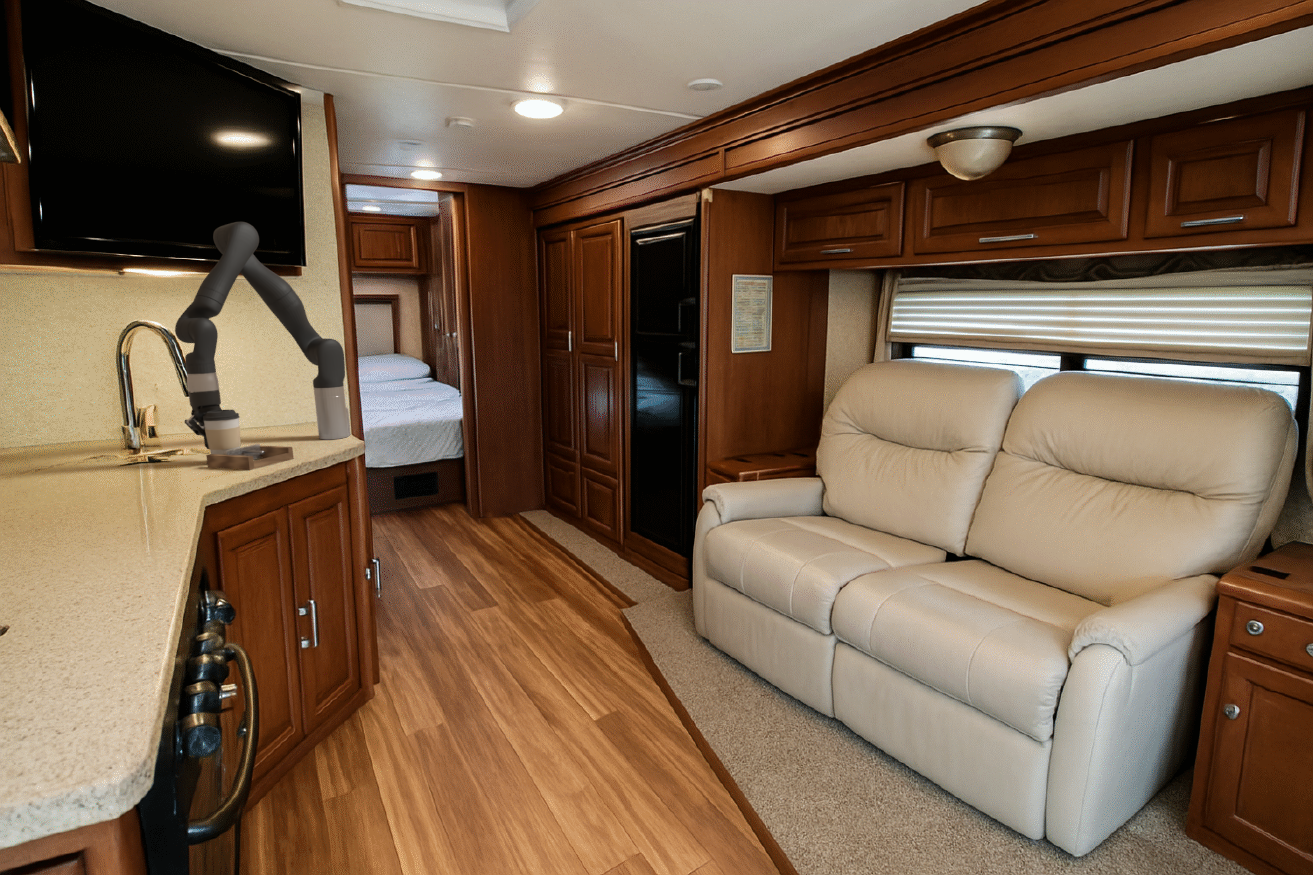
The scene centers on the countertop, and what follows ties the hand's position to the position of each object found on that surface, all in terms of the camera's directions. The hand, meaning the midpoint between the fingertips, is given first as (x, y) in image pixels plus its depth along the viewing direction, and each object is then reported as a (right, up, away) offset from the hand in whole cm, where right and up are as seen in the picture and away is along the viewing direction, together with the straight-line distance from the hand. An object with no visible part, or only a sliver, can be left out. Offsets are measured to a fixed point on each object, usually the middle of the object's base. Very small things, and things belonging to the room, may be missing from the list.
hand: (211, 448), depth 205 cm
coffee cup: (+5, -4, -1) cm, 6 cm away
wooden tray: (+14, -4, -4) cm, 15 cm away
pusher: (+14, -4, -4) cm, 15 cm away
